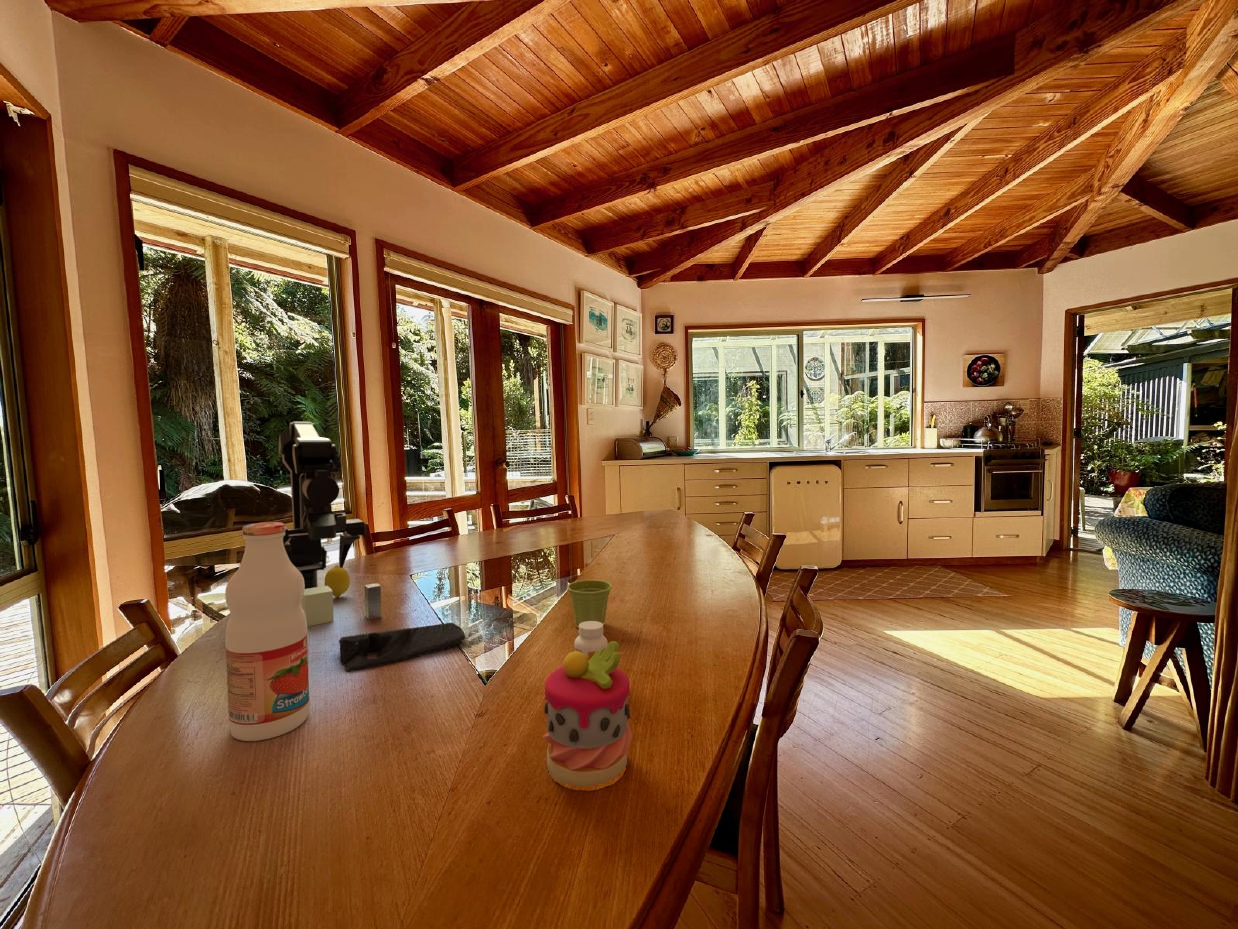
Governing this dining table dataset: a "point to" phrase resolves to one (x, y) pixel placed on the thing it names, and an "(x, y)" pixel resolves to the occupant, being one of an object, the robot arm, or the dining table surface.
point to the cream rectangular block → (318, 605)
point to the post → (372, 601)
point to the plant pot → (589, 600)
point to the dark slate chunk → (397, 644)
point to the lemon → (337, 580)
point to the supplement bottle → (590, 638)
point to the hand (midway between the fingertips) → (317, 571)
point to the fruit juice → (266, 639)
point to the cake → (587, 718)
